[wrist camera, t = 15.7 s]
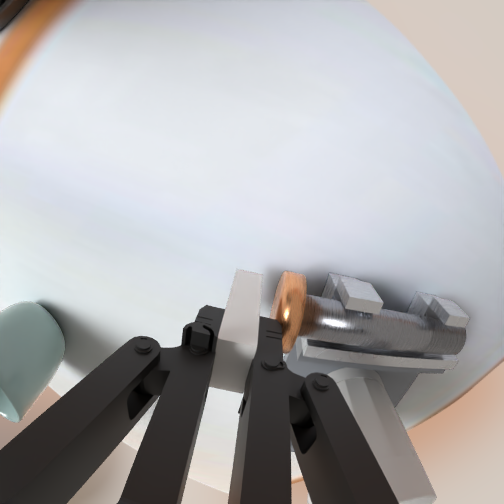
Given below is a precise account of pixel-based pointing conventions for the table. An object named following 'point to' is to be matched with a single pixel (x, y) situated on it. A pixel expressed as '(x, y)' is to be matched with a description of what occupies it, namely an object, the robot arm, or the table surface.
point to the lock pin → (357, 323)
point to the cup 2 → (384, 434)
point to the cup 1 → (27, 356)
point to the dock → (392, 377)
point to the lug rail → (368, 300)
